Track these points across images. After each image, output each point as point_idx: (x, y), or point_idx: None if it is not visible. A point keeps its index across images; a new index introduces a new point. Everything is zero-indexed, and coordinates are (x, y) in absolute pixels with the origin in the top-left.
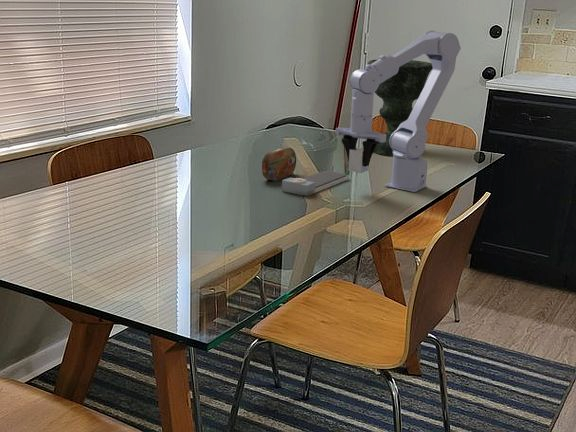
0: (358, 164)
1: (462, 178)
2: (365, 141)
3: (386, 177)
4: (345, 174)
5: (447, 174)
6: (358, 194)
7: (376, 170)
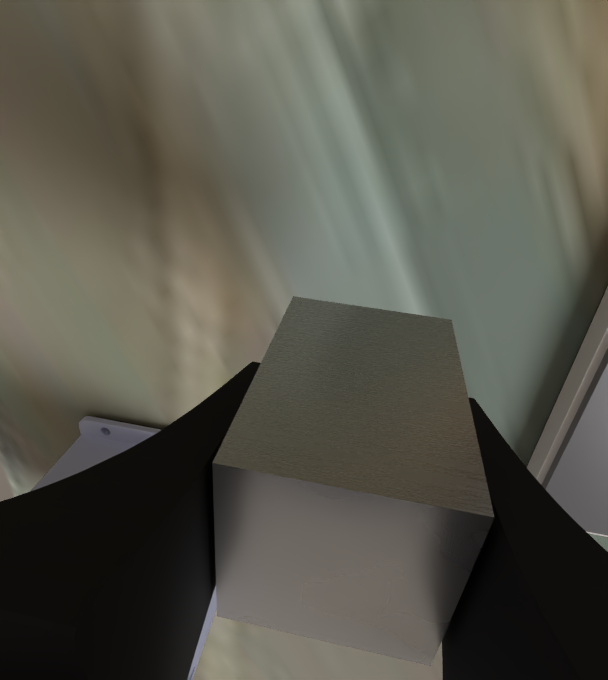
0: (318, 344)
1: None
2: (36, 664)
3: None
4: None
5: None
6: (328, 212)
7: None
